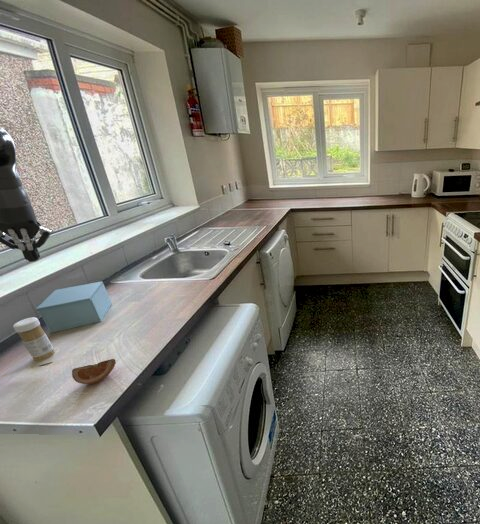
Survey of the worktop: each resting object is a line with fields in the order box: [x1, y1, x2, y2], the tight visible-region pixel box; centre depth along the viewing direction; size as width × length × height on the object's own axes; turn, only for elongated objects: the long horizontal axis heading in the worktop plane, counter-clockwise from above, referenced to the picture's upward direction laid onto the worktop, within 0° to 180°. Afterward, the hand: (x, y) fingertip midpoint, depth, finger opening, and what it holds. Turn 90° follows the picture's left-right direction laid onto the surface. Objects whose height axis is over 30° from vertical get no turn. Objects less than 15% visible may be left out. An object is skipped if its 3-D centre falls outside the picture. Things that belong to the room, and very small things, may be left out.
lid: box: [35, 281, 104, 312], centre depth 99 cm, size 14×14×1 cm
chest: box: [38, 283, 112, 334], centre depth 101 cm, size 14×14×9 cm
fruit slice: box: [71, 358, 117, 385], centre depth 73 cm, size 8×7×5 cm
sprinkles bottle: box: [12, 316, 56, 367], centre depth 79 cm, size 5×5×13 cm
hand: (33, 260), depth 86 cm, fingers closed
